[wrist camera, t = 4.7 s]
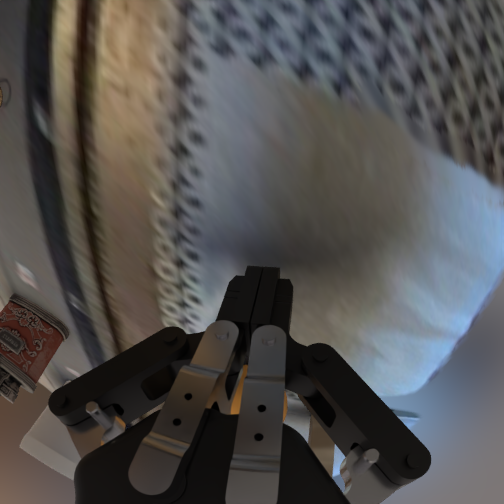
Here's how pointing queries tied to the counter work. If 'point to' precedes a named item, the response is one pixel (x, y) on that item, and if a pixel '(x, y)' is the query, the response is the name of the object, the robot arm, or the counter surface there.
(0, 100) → the compass
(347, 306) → the counter surface
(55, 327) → the lighter
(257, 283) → the robot arm
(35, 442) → the foam cup
